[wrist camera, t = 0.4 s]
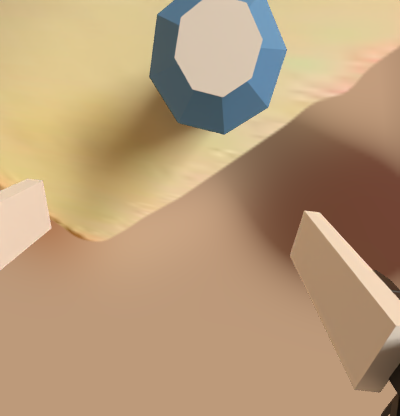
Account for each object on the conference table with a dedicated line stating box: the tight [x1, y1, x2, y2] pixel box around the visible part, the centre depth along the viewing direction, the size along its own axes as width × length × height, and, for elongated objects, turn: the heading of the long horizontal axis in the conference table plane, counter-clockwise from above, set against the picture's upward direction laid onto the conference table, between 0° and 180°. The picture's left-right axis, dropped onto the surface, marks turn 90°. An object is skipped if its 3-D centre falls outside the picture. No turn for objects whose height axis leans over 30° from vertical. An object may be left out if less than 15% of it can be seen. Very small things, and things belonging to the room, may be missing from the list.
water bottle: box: [149, 0, 287, 134], centre depth 23 cm, size 9×9×25 cm
